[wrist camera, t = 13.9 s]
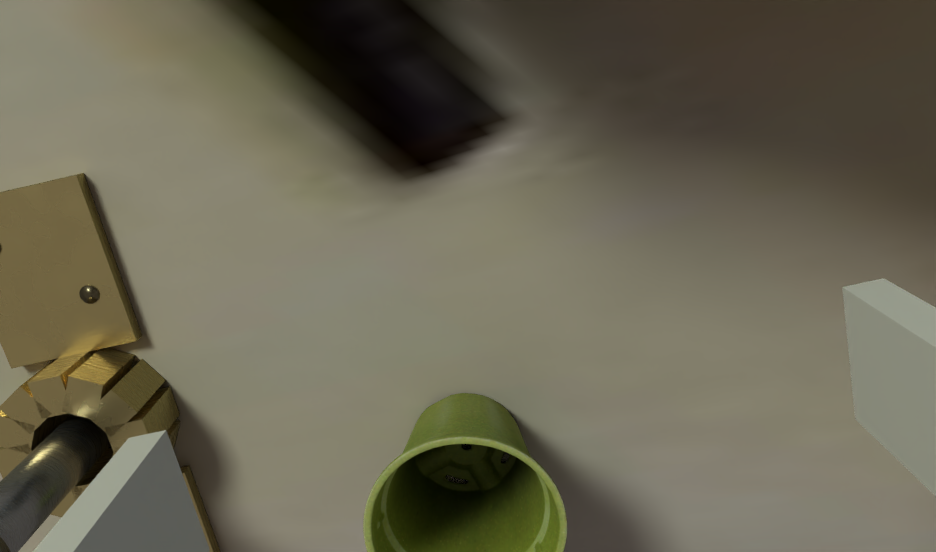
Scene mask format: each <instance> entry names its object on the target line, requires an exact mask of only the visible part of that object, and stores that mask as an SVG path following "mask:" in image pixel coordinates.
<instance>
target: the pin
mask: <svg viewBox="0 0 936 552" xmlns="http://www.w3.org/2000/svg"><path fill="white" fill-rule="evenodd" d="M110 445H111V444H110V442H109V439H108V436H107V434H106V433H105V432H104V431H103V430H102V429H101V428H100V427H98V426H97V425H96V424H95V423H94V422H93V421H92V420H90V419H88V418H84V417H81V416H77V415H73V414H71V415H70V416H69V417H67V418H66V419H65V420H64V421H63V422H62V423H61V424H60V425H59V426H58V427H57V428H56V429H55V430H54V431H53V432H52V433H51V434H50V435H49V436H48V437H47V438H45V439H44V440H43V441H42V442H41V443H40V444H39V445H38V446H37V447H36V448H35V449H34V450H33V451H32V452H31V453H30V454H29V455H28V456H27V457H26V458H25V459H24V460H22V461H21V462H20V463H19V464H18V465H17V466H16V467H15V468H14V469H13V470H12V471H11V472H10V473H9V474H8V475H7V476H6V477H5V478H4V479H3V480H2V481H0V552H18V551H19V550H20V549H21V547H22V546H23V545H24V544H25V543H26V542H27V540H28V539H29V538H30V537H31V536H32V535H33V534H34V532H35V531H36V530H37V529H38V528H39V527H40V526H41V524H42V523H43V522H44V521H45V520H46V519H47V517H48V516H49V515H50V514H51V513H52V512H53V511H54V509H55V508H56V507H57V506H58V505H59V504H60V503H61V501H62V500H63V499H64V498H65V497H66V496H67V494H68V493H69V492H70V491H71V490H72V489H73V488H74V486H75V485H76V484H77V483H78V482H79V481H80V480H81V478H82V477H83V476H84V475H85V474H86V473H87V471H88V470H89V469H90V468H91V467H92V466H93V465H94V463H95V462H96V461H97V460H98V459H99V458H100V457H101V455H102V454H103V453H104V452H105V451H106V450H107V448H108V447H109V446H110Z"/></svg>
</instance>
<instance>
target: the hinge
mask: <svg viewBox="0 0 936 552" xmlns="http://www.w3.org/2000/svg"><path fill="white" fill-rule="evenodd" d="M140 337H142V333H141V331H140V328H139V325H138V322H137V320H136V317H135V314H134V311H133V309H132V306H131V303H130V300H129V297H128V295H127V292H126V289H125V286H124V284H123V281H122V278H121V275H120V273H119V270H118V267H117V264H116V262H115V259H114V256H113V253H112V250H111V248H110V245H109V242H108V239H107V237H106V234H105V231H104V228H103V226H102V223H101V220H100V217H99V214H98V212H97V209H96V206H95V203H94V201H93V198H92V195H91V192H90V190H89V187H88V184H87V181H86V178H85V176H84V173H82V174H77V175H73V176H69V177H64V178H60V179H56V180H51V181H47V182H43V183H39V184H34V185H30V186H26V187H21V188H17V189H13V190H8V191H4V192H0V342H1V345H2V347H3V350H4V352H5V354H6V357H7V359H8V362H9V364H10V366H11V368H16V367H20V366H25V365H29V364H34V363H39V362H43V361H48V360H52V359H55V360H53V361H52V362H51V363H49V364H48V365H47V366H46V367H44V368H43V369H42V370H40V371H39V372H38V373H37V374H35V375H34V376H33V377H32V378H30V379H29V380H28V381H26V382H25V383H24V384H23V385H21V386H20V387H19V388H18V389H17V390H16V391H15V392H14V393H13V394H12V395H11V396H10V397H9V398H8V399H7V400H6V401H5V402H4V403H3V404H2V405H1V406H0V473H1V475H2V477H3V479H4V478H5V477H6V476H7V475H8V474H9V473H10V472H11V471H12V470H13V469H14V468H15V467H16V466H17V465H18V464H19V463H20V462H21V461H22V460H24V459H25V458H26V457H27V456H28V455H29V454H30V453H31V452H32V451H33V450H34V449H35V448H36V447H37V446H38V445H39V444H40V443H41V442H42V441H43V440H44V439H45V438H47V437H48V436H49V435H50V434H51V433H52V432H53V431H54V430H55V429H56V428H57V427H58V426H59V425H60V424H61V423H62V422H63V421H64V420H65V419H66V418H67V417H69V414H68V413H70V414H73V415H77V416H81V417H84V418H88V419H90V420H92V421H93V422H94V423H95V424H96V425H97V426H98V427H100V428H101V429H102V430H103V431H104V432H105V433H106V434H107V436H108V439H109V442H110V444H111V447H112V448H110V449H108V448H107V450H106V451H105V452H104V453H103V454H102V455H101V457H100V458H99V459H98V460H97V461H96V462H95V463H94V465H93V466H92V467H91V468H90V469H89V470H88V471H87V473H86V474H85V475H84V476H83V477H82V478H81V480H80V481H79V482H78V483H77V484H76V485H75V486H74V488H73V489H72V490H71V491H70V492H69V493H68V494H67V496H66V497H65V498H64V499H63V500H62V501H61V503H60V504H59V505H58V506H57V507H56V508H55V509H54V511H53V512H52V513H51V515H55V516H59V517H63V515H64V514H65V513H66V512H67V511H68V509H69V508H70V507H71V506H72V505H73V503H74V502H75V501H76V500H77V499H78V497H79V496H80V495H81V494H82V493H83V492H84V490H85V489H86V488H87V487H88V486H89V484H90V483H91V482H92V481H93V480H94V478H95V477H96V476H97V475H98V474H99V473H100V471H101V470H102V469H103V468H104V467H105V465H106V464H107V463H108V462H109V461H110V459H111V458H112V457H113V456H114V455H115V454H116V452H117V451H118V450H119V449H120V448H121V446H122V445H123V444H124V443H125V442H126V440H127V439H128V438H131V437H135V436H140V435H145V434H150V433H154V432H159V431H164V430H166V431H167V434H168V436H169V439H170V442H171V445H172V447H173V449H174V446H175V442H176V438H177V434H178V429H179V425H180V421H178V420H176V419H177V417H178V416H179V415H180V413H179V410H178V407H177V405H176V402H175V399H174V396H173V393H172V391H171V388H170V387H166V388H161V389H158V388H159V387H160V386H161V385H162V384H163V383H164V382H165V379H164V378H163V377H162V376H160V375H159V374H158V373H157V372H156V371H155V370H154V369H153V368H152V367H150V366H149V365H148V364H147V363H146V362H145V361H144V360H143V359H141V360H140V361H139V362H138V363H137V364H136V365H135V366H134V367H133V368H132V366H133V361H134V356H135V355H133V354H129V353H126V352H122V351H119V350H115V349H111V348H108V347H112V346H116V345H121V344H126V343H130V342H135V341H137V340H138V339H139V338H140ZM98 349H100V350H99V351H97V350H98ZM180 469H181V472H182V475H183V477H184V480H185V483H186V486H187V488H188V491H189V494H190V497H191V499H192V502H193V505H194V508H195V510H196V513H197V516H198V518H199V521H200V524H201V527H202V529H203V532H204V535H205V538H206V540H207V543H208V546H209V549H210V550H209V552H220V549H219V547H218V544H217V541H216V538H215V535H214V533H213V530H212V527H211V524H210V522H209V519H208V516H207V513H206V511H205V508H204V505H203V502H202V500H201V497H200V494H199V491H198V488H197V486H196V483H195V480H194V477H193V475H192V472H191V469H190V466H184V467H180Z"/></svg>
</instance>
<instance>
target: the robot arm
mask: <svg viewBox="0 0 936 552" xmlns="http://www.w3.org/2000/svg"><path fill="white" fill-rule="evenodd" d="M842 289H843V299H844V309H845V319H846V330H847V340H848V350H849V360H850V370H851V381H852V391H853V401H854V411H855V419H856V420H857V421H858V422H859V423H860V424H861V425H862V426H863V427H864V428H865V429H866V430H867V431H868V432H869V433H870V434H871V435H872V436H873V437H874V438H875V439H876V440H878V441H879V442H880V443H881V444H882V445H883V446H884V447H885V448H886V449H887V450H888V451H889V452H890V453H891V454H892V455H893V456H894V457H895V458H896V459H897V460H898V461H899V462H900V463H901V464H902V465H903V466H905V467H906V468H907V469H908V470H909V471H910V472H911V473H912V474H913V475H914V476H915V477H916V478H917V479H918V480H919V481H920V482H921V483H922V484H923V485H924V486H925V487H926V488H927V489H928V490H929V491H931V492H932V493H933V494H934V495H935V496H936V307H934V306H932V305H930V304H929V303H927V302H925V301H923V300H921V299H920V298H918V297H916V296H914V295H913V294H911V293H909V292H907V291H905V290H904V289H902V288H900V287H898V286H897V285H895V284H893V283H891V282H889V281H888V280H886V279H884V278H883V279H878V280H874V281H869V282H864V283H859V284H855V285H850V286H845V287H842ZM209 550H210V549H209V546H208V543H207V540H206V538H205V535H204V532H203V529H202V527H201V524H200V521H199V518H198V516H197V513H196V510H195V508H194V505H193V502H192V499H191V497H190V494H189V491H188V488H187V486H186V483H185V480H184V477H183V475H182V472H181V469H180V466H179V464H178V461H177V458H176V456H175V453H174V450H173V447H172V445H171V442H170V439H169V436H168V434H167V431H166V430H164V431H159V432H154V433H150V434H145V435H140V436H135V437H131V438H128V439H127V440H126V442H125V443H124V444H123V445H122V446H121V448H120V449H119V450H118V451H117V452H116V454H115V455H114V456H113V457H112V458H111V459H110V461H109V462H108V463H107V464H106V465H105V467H104V468H103V469H102V470H101V471H100V473H99V474H98V475H97V476H96V477H95V478H94V480H93V481H92V482H91V483H90V484H89V486H88V487H87V488H86V489H85V490H84V492H83V493H82V494H81V495H80V496H79V497H78V499H77V500H76V501H75V502H74V503H73V505H72V506H71V507H70V508H69V509H68V511H67V512H66V513H65V514H64V515H63V517H62V518H61V519H60V520H59V521H58V522H57V524H56V525H55V526H54V527H53V528H52V530H51V531H50V532H49V533H48V534H47V536H46V537H45V538H44V539H43V540H42V541H41V543H40V544H39V545H38V546H37V547H36V549H35V550H34V551H33V552H209Z"/></svg>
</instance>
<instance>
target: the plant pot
mask: <svg viewBox="0 0 936 552" xmlns="http://www.w3.org/2000/svg"><path fill="white" fill-rule="evenodd" d="M462 444H471V448H470V449H469V450H465V449H463V448H462ZM504 452H506V453H509V454H510V457H509V459H508V460H507V461H506V462H505V463H501V459H502V457H503V454H504ZM446 475H450V476H453V477H455V478H457V479H464V480H468V481H469V482H467V483H466V484H460V483H454V482H451V481H448V480H447V479H446ZM363 532H364V539H365V544H366V549H367V552H564V548H565V544H566V539H567V518H566V512H565V507H564V504H563V501H562V498H561V495H560V493H559V491H558V489H557V487H556V485H555V483H554V482H553V480H552V479H551V477H550V476H549V474H548V473H547V472H546V471H545V469H544V468H543V467H542V466H541V465H540V464H539V463H538V462H537V461H535V460H534V459H533V458H532V457H531V456H530V454H529V452H528V449H527V447H526V445H525V442H524V440H523V438H522V435H521V433H520V430H519V428H518V426H517V424H516V422H515V420H514V419H513V417H512V416H511V415H510V413H509V412H508V411H507V410H506V409H505V408H504V407H503V406H502V405H501V404H499V403H498V402H496V401H494V400H492V399H490V398H488V397H485V396H482V395H477V394H468V393H461V394H455V395H451V396H449V397H447V398H444V399H442V400H440V401H439V402H437V403H435V404H433V405H431V406H430V407H428V408H427V409H426V410H425V411H424V412H423V413H422V414H421V416H420V417H419V419H418V421H417V423H416V424H415V427H414V429H413V431H412V433H411V435H410V438H409V440H408V443H407V445H406V447H405V449H404V451H403V454H401V455H400V456H399V457H397V458H396V459H395V460H394V461H393V462H391V463H390V464H389V465H388V466H387V468H386V469H385V470H384V471H383V472H382V474H381V475H380V476H379V478H378V479H377V481H376V482H375V484H374V486H373V488H372V490H371V492H370V495H369V497H368V500H367V504H366V508H365V513H364V521H363Z"/></svg>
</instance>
